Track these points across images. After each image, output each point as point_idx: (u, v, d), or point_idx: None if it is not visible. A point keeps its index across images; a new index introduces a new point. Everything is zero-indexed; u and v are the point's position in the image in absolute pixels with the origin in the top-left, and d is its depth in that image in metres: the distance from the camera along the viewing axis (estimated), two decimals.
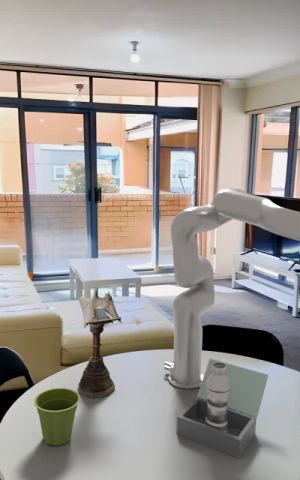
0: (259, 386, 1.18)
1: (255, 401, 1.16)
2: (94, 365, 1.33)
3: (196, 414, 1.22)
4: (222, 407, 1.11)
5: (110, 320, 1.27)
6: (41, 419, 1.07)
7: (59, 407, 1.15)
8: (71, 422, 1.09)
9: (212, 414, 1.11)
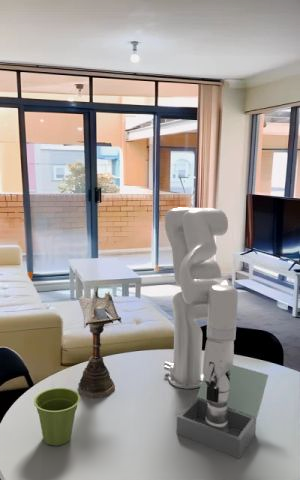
0: (259, 386, 1.18)
1: (255, 401, 1.16)
2: (94, 365, 1.33)
3: (196, 414, 1.22)
4: (222, 407, 1.11)
5: (110, 320, 1.27)
6: (41, 419, 1.07)
7: (59, 407, 1.15)
8: (71, 422, 1.09)
9: (212, 414, 1.11)
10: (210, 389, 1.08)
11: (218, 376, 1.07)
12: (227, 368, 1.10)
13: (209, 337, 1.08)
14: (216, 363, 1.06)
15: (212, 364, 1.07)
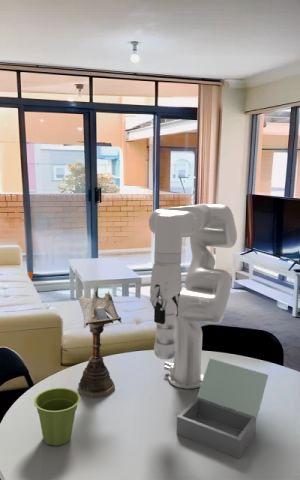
0: (259, 386, 1.18)
1: (255, 401, 1.16)
2: (94, 365, 1.33)
3: (196, 414, 1.22)
4: (169, 329, 1.17)
5: (110, 320, 1.27)
6: (41, 419, 1.07)
7: (59, 407, 1.15)
8: (71, 422, 1.09)
9: (160, 336, 1.18)
10: (157, 311, 1.15)
11: (163, 297, 1.13)
12: (174, 292, 1.17)
13: (156, 262, 1.15)
14: (161, 284, 1.13)
15: (158, 286, 1.13)
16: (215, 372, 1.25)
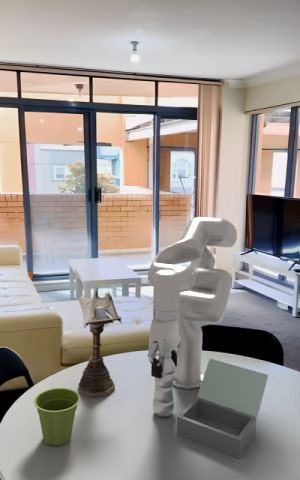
0: (259, 386, 1.18)
1: (255, 401, 1.16)
2: (94, 365, 1.33)
3: (196, 414, 1.22)
4: (167, 388, 1.20)
5: (110, 320, 1.27)
6: (41, 419, 1.07)
7: (59, 407, 1.15)
8: (71, 422, 1.09)
9: (158, 394, 1.21)
10: (154, 366, 1.17)
11: (162, 354, 1.16)
12: (172, 347, 1.19)
13: (154, 318, 1.17)
14: (160, 341, 1.15)
15: (156, 342, 1.16)
16: (215, 372, 1.25)
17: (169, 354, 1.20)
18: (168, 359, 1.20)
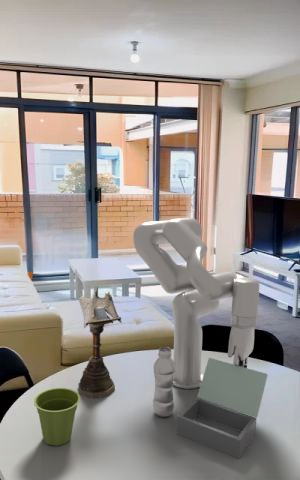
0: (259, 385, 1.17)
1: (255, 401, 1.16)
2: (94, 365, 1.33)
3: (196, 414, 1.22)
4: (167, 388, 1.20)
5: (110, 320, 1.27)
6: (41, 419, 1.07)
7: (59, 407, 1.15)
8: (71, 422, 1.09)
9: (158, 394, 1.21)
10: None
11: (242, 358, 1.20)
12: (249, 352, 1.24)
13: (234, 324, 1.22)
14: (240, 346, 1.20)
15: (237, 349, 1.21)
16: (214, 372, 1.25)
17: (169, 354, 1.20)
18: (168, 359, 1.20)
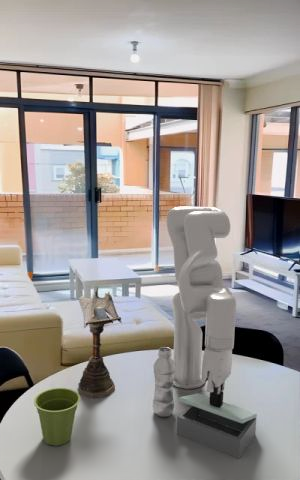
0: None
1: None
2: (94, 365, 1.33)
3: (196, 414, 1.22)
4: (167, 388, 1.20)
5: (110, 320, 1.27)
6: (41, 419, 1.07)
7: (59, 407, 1.15)
8: (71, 422, 1.09)
9: (158, 394, 1.21)
10: (213, 394, 1.11)
11: (216, 385, 1.06)
12: (225, 377, 1.10)
13: (207, 346, 1.08)
14: (214, 372, 1.06)
15: (211, 375, 1.07)
16: None
17: (169, 354, 1.20)
18: (168, 359, 1.20)
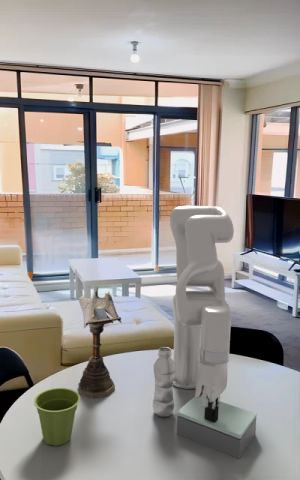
0: None
1: None
2: (94, 365, 1.33)
3: None
4: (167, 388, 1.20)
5: (110, 320, 1.27)
6: (41, 419, 1.07)
7: (59, 407, 1.15)
8: (71, 422, 1.09)
9: (158, 394, 1.21)
10: (208, 409, 1.08)
11: (211, 400, 1.04)
12: (220, 391, 1.08)
13: (202, 359, 1.06)
14: (209, 386, 1.04)
15: (205, 389, 1.05)
16: None
17: (169, 354, 1.20)
18: (168, 359, 1.20)
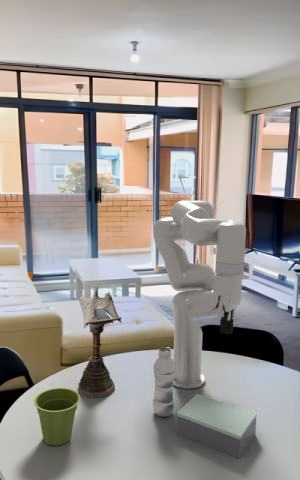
0: None
1: None
2: (94, 365, 1.33)
3: None
4: (167, 388, 1.20)
5: (110, 320, 1.27)
6: (41, 419, 1.07)
7: (59, 407, 1.15)
8: (71, 422, 1.09)
9: (158, 394, 1.21)
10: (223, 321, 1.14)
11: (227, 309, 1.10)
12: (235, 304, 1.13)
13: (218, 272, 1.11)
14: (225, 296, 1.09)
15: (221, 300, 1.10)
16: None
17: (169, 354, 1.20)
18: (168, 359, 1.20)
